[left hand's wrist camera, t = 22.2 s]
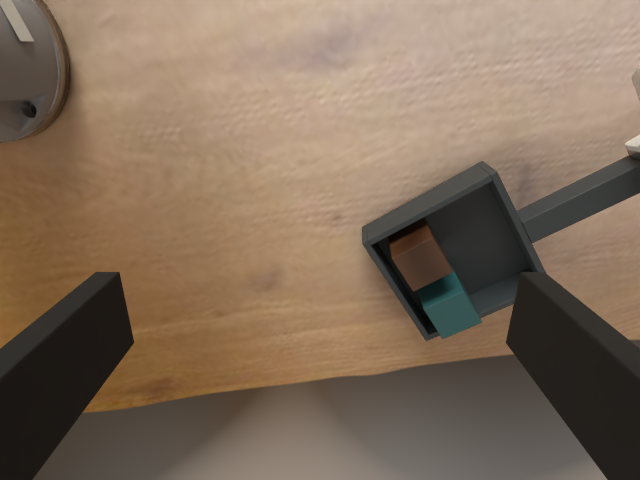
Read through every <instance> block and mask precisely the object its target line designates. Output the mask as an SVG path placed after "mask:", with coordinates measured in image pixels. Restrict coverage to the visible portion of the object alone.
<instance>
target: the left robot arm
mask: <svg viewBox="0 0 640 480" xmlns="http://www.w3.org/2000/svg"><path fill="white" fill-rule="evenodd" d="M69 77H70V70H69V60H68V54H67V50H66V46H65V42H64V39H63V37H62V34H61V31H60V29H59V27H58V25H57V23H56V21H55V19H54V17H53V15H52V14H51V12H50V10H49V9H48V7H47V6H46V4H45V3H44V2H43V0H0V143H2V142H9V141H15V140H21V139H25V138H29V137H31V136H34V135H36V134H38V133H39V132H41V131H43V130H44V129H45V128H47V127H48V126H49V125H50V124H51V123H52V122H53V121H54V120H55V119H56V117H57V116H58V114H59V113H60V111H61V109H62V107H63V105H64V103H65V100H66V97H67V93H68V88H69ZM133 343H134V340H133V335H132V330H131V325H130V321H129V316H128V311H127V306H126V301H125V297H124V292H123V287H122V282H121V278H120V273H119V272H95V273H94V274H93V275H92V276H90V277H89V278H88V279H87V280H85V281H84V282H83V283H82V284H81V285H79V286H78V287H77V288H76V289H74V290H73V291H72V292H71V293H69V294H68V295H67V296H66V297H64V298H63V299H62V300H61V301H59V302H58V303H57V304H56V305H54V306H53V307H52V308H51V309H49V310H48V311H47V312H46V313H44V314H43V315H42V316H41V317H39V318H38V319H37V320H36V321H34V322H33V323H32V324H31V325H29V326H28V327H27V328H26V329H24V330H23V331H22V332H21V333H19V334H18V335H17V336H16V337H14V338H13V339H12V340H11V341H9V342H8V343H7V344H6V345H4V346H3V347H2V348H1V349H0V480H32V479H33V478H34V477H35V475H36V474H37V473H38V471H39V470H40V469H41V467H42V466H43V465H44V463H45V462H46V461H47V459H48V458H49V456H50V455H51V454H52V452H53V451H54V450H55V448H56V447H57V446H58V444H59V443H60V442H61V440H62V439H63V438H64V436H65V435H66V434H67V432H68V431H69V430H70V428H71V427H72V426H73V424H74V423H75V422H76V420H77V419H78V417H79V416H80V415H81V413H82V412H83V411H84V409H85V408H86V407H87V405H88V404H89V403H90V401H91V400H92V399H93V397H94V396H95V395H96V393H97V392H98V391H99V389H100V388H101V387H102V385H103V384H104V382H105V381H106V380H107V378H108V377H109V376H110V374H111V373H112V372H113V370H114V369H115V368H116V366H117V365H118V364H119V362H120V361H121V360H122V358H123V357H124V356H125V354H126V353H127V352H128V350H129V349H130V347H131V346H132V345H133ZM506 343H507V345H508V346H509V347H510V349H511V350H512V352H513V353H514V354H515V356H516V357H517V358H518V360H519V361H520V362H521V364H522V365H523V366H524V368H525V369H526V370H527V372H528V373H529V374H530V376H531V377H532V378H533V380H534V381H535V382H536V384H537V385H538V386H539V388H540V389H541V391H542V392H543V393H544V395H545V396H546V397H547V399H548V400H549V401H550V403H551V404H552V405H553V407H554V408H555V409H556V411H557V412H558V413H559V415H560V416H561V417H562V419H563V420H564V421H565V423H566V424H567V426H568V427H569V428H570V430H571V431H572V432H573V434H574V435H575V436H576V438H577V439H578V440H579V442H580V443H581V444H582V446H583V447H584V448H585V450H586V451H587V452H588V454H589V455H590V456H591V458H592V459H593V461H594V462H595V463H596V465H597V466H598V467H599V469H600V470H601V471H602V473H603V474H604V475H605V477H606V478H607V479H608V480H640V349H639V348H638V347H637V346H636V345H634V344H633V343H632V342H631V341H629V340H628V339H627V338H626V337H624V336H623V335H622V334H621V333H619V332H618V331H617V330H616V329H614V328H613V327H612V326H611V325H609V324H608V323H607V322H606V321H604V320H603V319H602V318H601V317H599V316H598V315H597V314H596V313H594V312H593V311H592V310H591V309H589V308H588V307H587V306H586V305H584V304H583V303H582V302H581V301H579V300H578V299H577V298H576V297H574V296H573V295H572V294H571V293H569V292H568V291H567V290H566V289H564V288H563V287H562V286H561V285H559V284H558V283H557V282H556V281H555V280H553V279H552V278H551V277H550V276H548V275H547V274H546V273H545V272H521V273H520V278H519V282H518V287H517V292H516V297H515V301H514V306H513V311H512V316H511V321H510V325H509V330H508V335H507V340H506Z"/></svg>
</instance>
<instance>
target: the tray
mask: <svg viewBox="0 0 640 480" xmlns="http://www.w3.org/2000/svg"><path fill="white" fill-rule="evenodd" d="M638 193H640V161H639V160H636V159H631V158H630V156H627V157H625V158H623V159H621V160H619V161H617V162H615V163H613V164H611V165H609V166H607V167H605V168H603V169H601V170H599V171H597V172H595V173H593V174H591V175H589V176H586V177H584V178H582V179H580V180H578V181H576V182H574V183H572V184H570V185H568V186H566V187H564V188H562V189H560V190H558V191H556V192H554V193H552V194H550V195H548V196H546V197H544V198H542V199H540V200H538V201H536V202H534V203H532V204H530V205H528V206H526V207H524V208H522V209H520V210H518V211H516V210H515V208H514V206H513V204H512V202H511V200H510V198H509V196H508V193H507V191H506V189H505V187H504V185H503V183H502V181H501V179H500V177H499V175H498V173H497V171H495V170H494V169H493V168H491V167H490V166H488V165H487V164H486V163H484V162H483V161H482V162H480V163H478V164H476V165H474V166H473V167H471V168H469V169H467V170H465V171H464V172H462V173H460V174H458V175H456V176H454V177H453V178H451V179H449V180H447V181H445V182H444V183H442V184H440V185H438V186H436V187H434V188H433V189H431V190H429V191H427V192H425V193H424V194H422V195H420V196H418V197H416V198H414V199H413V200H411V201H409V202H407V203H405V204H404V205H402V206H400V207H398V208H396V209H394V210H393V211H391V212H389V213H387V214H385V215H384V216H382V217H380V218H378V219H376V220H375V221H373V222H371V223H369V224H367V225H365V226H364V227H362V242H363V245H364V247H365V248H366V250H367V251H368V253H369V254H370V256H371V258H372V259H373V261H374V262H375V264H376V265H377V267H378V268H379V270H380V271H381V273H382V274H383V276H384V277H385V279H386V280H387V282H388V284H389V285H390V287H391V288H392V290H393V291H394V293H395V294H396V296H397V297H398V299H399V300H400V302H401V303H402V305H403V306H404V308H405V310H406V311H407V313H408V314H409V316H410V317H411V319H412V320H413V322H414V323H415V325H416V326H417V328H418V329H419V331H420V333H421V334H422V336H423V337H424V339H425V340H426V341H428V340H430V339H433V338H435V337H437V336H440V334H439V332H438V331H437V329H436V328H435V326H434V325H433V323H432V322H431V320H430V318H429V317H428V315H427V314H426V312H425V311H424V309H423V305H422V301H421V298H420V294H419V291H418V290H416V291H412V289H411V288H410V286H409V284H408V283H407V281H406V280H405V278H404V277H403V275H402V274H401V272H400V271H399V269H398V267H397V266H396V264H395V263H394V261H393V260H392V256H391V251H390V245H389V240H388V236H390V235H391V234H393V233H395V232H397V231H399V230H401V229H403V228H405V227H407V226H408V225H410V224H412V223H414V222H416V221H418V220H420V219H422V218H423V217H425V219H426V221H427V222H428V224H429V226H430V227H431V229H432V231H433V233H434V234H435V236H436V238H437V239H438V241H439V243H440V245H441V247H442V249H443V251H444V253H445V255H446V257H447V259H448V261H450V263H451V265H452V266H453V268H454V270H455V271H456V273H457V275H458V277H459V278H460V280H461V282H462V283H463V285H464V287H465V289H466V291H467V293H468V295H469V297H470V299H471V301H472V303H473V305H474V307H475V309H476V311H477V313H478V315H479V317H480V318H482V317H484V316H486V315H489V314H491V313H493V312H496V311H498V310H500V309H503V308H505V307H507V306H510V305H512V304H514V301H515V297H516V292H517V287H518V282H519V278H520V273H521V272H545V270H544V268H543V266H542V264H541V262H540V260H539V258H538V256H537V254H536V251H535V249H534V247H533V245H532V243H533V242H536V241H538V240H540V239H542V238H544V237H546V236H548V235H551V234H553V233H555V232H557V231H559V230H561V229H563V228H566V227H568V226H570V225H572V224H574V223H576V222H578V221H581V220H583V219H585V218H587V217H589V216H591V215H593V214H595V213H598V212H600V211H602V210H604V209H606V208H608V207H610V206H613V205H615V204H617V203H619V202H621V201H623V200H625V199H628V198H630V197H632V196H634V195H636V194H638ZM545 273H546V272H545Z"/></svg>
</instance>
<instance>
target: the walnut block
mask: <svg viewBox="0 0 640 480" xmlns="http://www.w3.org/2000/svg"><path fill="white" fill-rule="evenodd" d="M388 240H389V245H390V251H391V256H392V260H393V261H394V263H395V264H396V266H397V267H398V269H399V271H400V272H401V274H402V275H403V277H404V278H405V280H406V281H407V283H408V284H409V286H410V288H411V289H412V291H416V290H418V289H420V288H422V287H424V286H426V285H428V284H430V283H432V282H434V281H437V280H439V279H441V278H443V277H445V276H447V275H449V274H451V273H453V270H452V268H451V266H450V263H449V261H448V259H447V257H446V255H445V253H444V251H443V249H442V247H441V245H440V243H439V241H438V239H437V238H436V236H435V234H434V233H433V231H432V229H431V227H430V226H429V224H428V222H427V221H426V219H425V217H423V218H422V219H420V220H418V221H416V222H414V223H412V224H410V225H408V226H407V227H405V228H403V229H401V230H399V231H397V232H395V233H393V234H391V235H390V236H388Z"/></svg>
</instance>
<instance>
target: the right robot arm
mask: <svg viewBox="0 0 640 480" xmlns="http://www.w3.org/2000/svg"><path fill="white" fill-rule="evenodd" d="M632 81H633V84H634V87H635V90H636V92H637V95H638V98H639V101H640V65H639V66H638V67H637V69H636V70H635V72H634V73H633V76H632ZM625 146H626V149H627V151H628V154H629V156H630V158H631V159H636V160H639V161H640V135H638V136H636V137H634V138H633V139H631V140H629V141H627V142H626V143H625Z"/></svg>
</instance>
